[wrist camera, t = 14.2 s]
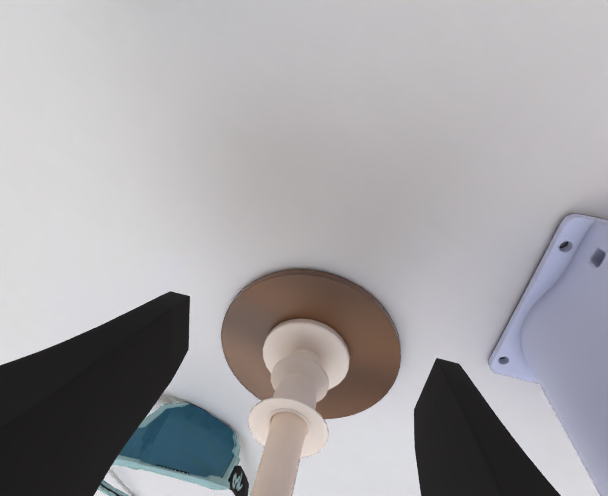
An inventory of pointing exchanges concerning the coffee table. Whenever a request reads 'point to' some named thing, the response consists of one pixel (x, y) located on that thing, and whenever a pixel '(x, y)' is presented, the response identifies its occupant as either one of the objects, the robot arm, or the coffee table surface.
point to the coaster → (323, 308)
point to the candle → (295, 400)
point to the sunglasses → (184, 450)
